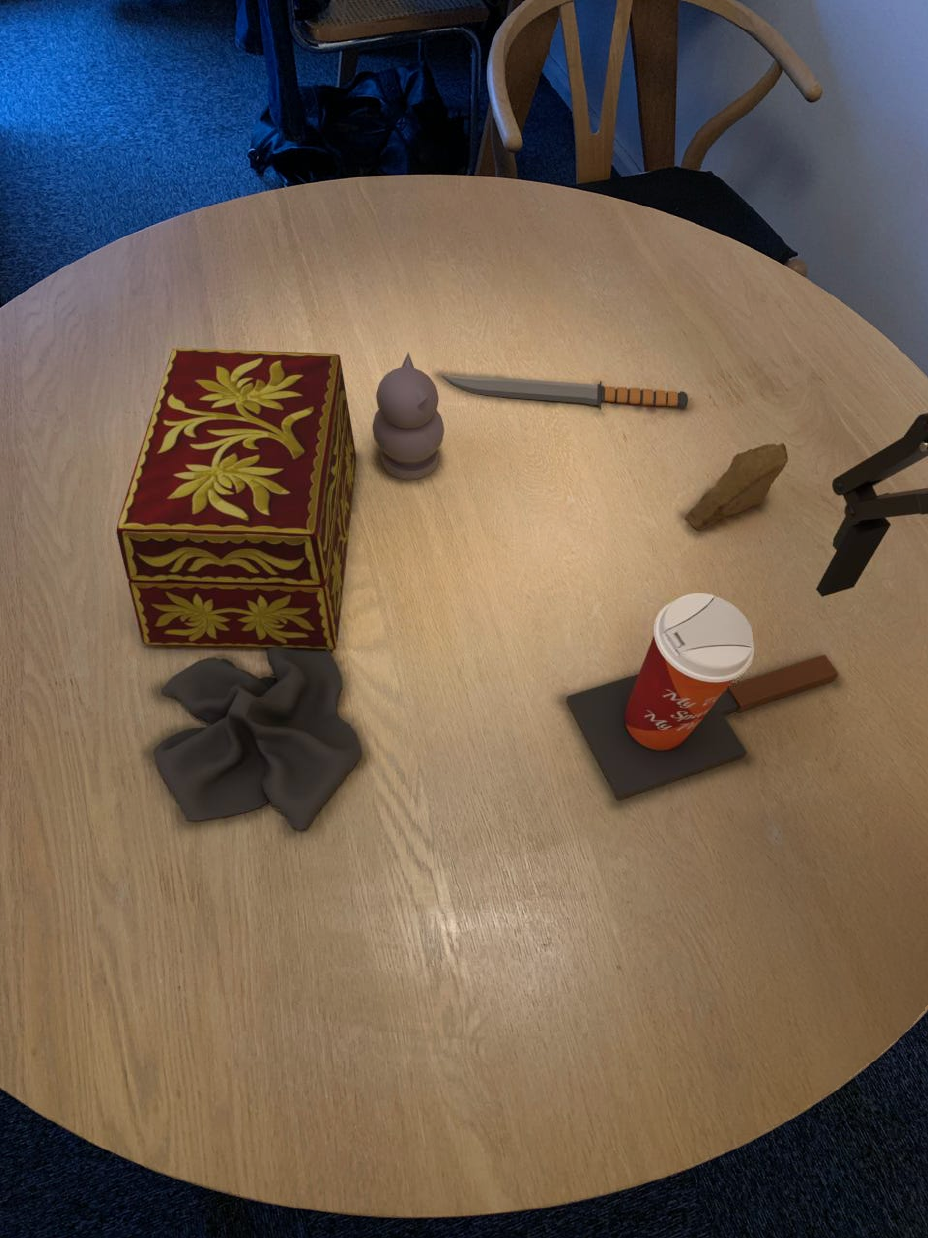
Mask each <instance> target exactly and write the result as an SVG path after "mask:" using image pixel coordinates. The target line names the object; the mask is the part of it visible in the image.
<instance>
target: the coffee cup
mask: <svg viewBox="0 0 928 1238" xmlns="http://www.w3.org/2000/svg"><path fill="white" fill-rule="evenodd" d="M653 624H654V625H653V637H652V639H651V642H650V644H649V646H648V649H647V652H646V654H645V657H644V659H643V661H642V664H641V667H640V670H639V673H638V674H639V675H638V677H637V680H636V683H635V685H634V688H633V690H632V693H631V696H630V698H629V701H628V704H627V707H626V711H625V723H626V727H627V729H628V731H629V733H630V734H631V736H632V737H633V738H634V739H635V740H636V741H637V742H639V743H640V744H641V745H643V746H645V747H647V748H650V749H653V750H659V751H664V750H670V749H673V748H675V747H677V746H678V745H680V744H681V743H682V742H683V741H684V740H685V739H686V738H687V737H688V735H689V734H690V733H691V732H692V731H693V729H694V728H695V727H696V726H697V725H698V723H699V722H700V721H701V720H702V718H703V717H704V716H705V715H706V713H707V712H708V711H709V710H710V709H711V707H712V706H713V705H714V704H715V702H716V701H717V700H718V699H719V697H720V696H721V695H722V693H723V692H724V691H726V689H727V687H728V686H730V685H731V683H733V681H734V680H735V679H738V678H739V677H741V676H742V675H744V673H745V672H746V671H748V669H749V667H750V666H751V664H752V663H753V660H754V656H755V643H754V634H753V629H752V625H751V623H750V622H749V621H748V619H747V618H746V616H745V615H744V614H743V613H742V612H741V610H740V609H739V608H738V607H737V606H736V605H734V604H732V603H731V602H729V601H728V600H726V599H723V598H721V597H719V596H717V595H715V594H710V593H703V592H693V593H688V594H685V595H682V596H679V597H678V598H676V599H674V600H673V601H671V602H669V603H668V604H666V605H665V606H663V607H662V609H661V610H660V611H659V612H658V614H657V616H656V618H655V620H654V623H653Z"/></svg>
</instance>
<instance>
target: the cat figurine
mask: <svg viewBox="0 0 928 1238" xmlns="http://www.w3.org/2000/svg"><path fill="white" fill-rule="evenodd" d="M375 395H376V396H375V397H376V404H377V408H378V410H377V411H376V412H375V415H374V418H373V422H372V433H373V438H374V440H375V442H376V445H378V447H379V448H380V450H381V462H382V463H381V464H382V466H383V468H384V470H385V471H386V472H387V473H388V474H390V475H391V476H393V477H395V478H398V479H400V480H406V481H407V480H408V481H410V480H419V479H422V478H425V477H427V476H428V475H430V474H432V473H433V472H434V470H435V469H436V467H437V464H438V457H439V456H438V454H439V452H438V450H439V448H440V447H441V445H442V443H443V439H444V434H445V425H444V421H443V418H442V415H441V414H440V412H439V411H438V406H439V400H440V399H439V393H438V389H437V386H436V384H435V382H434V381H433V380H432V378H431V377H430V376H429V375H428V374H426V373H425V372H424V371H422V370H421V369H418V368H415V366H414V364H413V360H412V358H411V355H410V353H409V352H407V354H406V356H405V357H404V360H403V363H402V365H401V367H397V368H394V369H392V370H391V371H389V372H387V373H386V374H384V376H383V378H381V380H380V381H379V383H378V387H377V390H376V394H375Z"/></svg>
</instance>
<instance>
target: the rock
mask: <svg viewBox="0 0 928 1238" xmlns="http://www.w3.org/2000/svg"><path fill="white" fill-rule="evenodd" d="M788 461H789V456H788V450H787V447H786V445H785V443H784V442H781V443H780V444H776V443H767V444H762V445H760V446H757V447H754V448H749V449H748V450H746V451H743V452H740V453H739V452H738V453H736V454H735V455H734V456H733V457H732V458H731V463H730V465H729V466H728V469H726V471H725V472H724V473H723V474H722V475H721V477H720V478H719V479H718V481H717V483H716V485H715V486H714V487H712V488H710V489H708V490H707V491H706V492H705V493H704V494H703V495H702V496H701V498H700V499H699V501H698V502H697V504H695V506H693V507H692V508H691V509H690V511H689V512H687V514H686V515H685V518H686V520H687V521H688V522H689V523H690V524H691V525H692V527H693V528H694V529H696V530H697V531H701V530H703V529H705V528H708V527H709V526H711V525H712V524H715V523H717V522H719V521H721V520H723V519H725V518H727V517H729V516H733V515H734V516H735V515H736V514H738V513H741V512H743V511H745V510H747V509H749V508H750V507H752V506H756V505H758V504H761V503H762V502H763V501H764V500H765V498H766V496H767V495H768V493H769V491H770V489H771V486H772V485H773V484H774V483H775V481H776V479H777V478H778V477H779V476H780V475H781V473H782V472H783V470H784V468H785V467H786V465H787V464H788Z"/></svg>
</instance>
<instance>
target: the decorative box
mask: <svg viewBox="0 0 928 1238" xmlns="http://www.w3.org/2000/svg"><path fill="white" fill-rule="evenodd" d="M342 364H343V363H342V360H341V355H340V354H338V353H325V352H323V353H322V352H319V353H318V352H298V351H297V352H292V351H266V350H237V349H236V350H235V349H207V348H173V349H172V350H171V353H170V354H169V359H168V361H167V365H166V367H165V371H164V374H163V377H162V379H161V383H160V387H159V389H158V393H157V396H156V399H155V402H154V405H153V408H152V412H151V415H150V418H149V422H148V424H147V428H146V431H145V435H144V437H143V440H142V443H141V447H140V450H139V453H138V456H137V460H136V463H135V466H134V469H133V473H132V476H131V480H130V482H129V485H128V489H127V492H126V495H125V498H124V502H123V505H122V508H121V511H120V514H119V518H118V521H117V525H116V536H117V541H118V546H119V549H120V553H121V558H122V562H123V567H124V571H125V575H126V578H127V580H128V587H129V593H130V596H131V600H132V604H133V608H134V613H135V617H136V622H137V626H138V629H139V634H140V638H141V641H142V643H143V645H147V646H166V647H167V646H170V647H171V646H172V647H174V646H175V647H211V648H213V647H215V648H216V647H217V648H218V647H219V648H221V647H222V648H252V649H253V648H255V649H257V648H258V649H259V648H260V649H266V648H272V647H282V648H295V649H327V650H335V649H336V647H337V643H338V639H339V630H340V623H341V622H340V621H341V620H340V619H341V614H342V613H341V612H342V611H341V610H342V602H343V593H344V582H345V574H346V563H347V554H348V545H349V534H350V524H351V513H352V506H353V496H354V487H355V474H356V466H357V465H356V463H357V453H356V445H355V440H354V434H353V433H354V432H353V427H352V421H351V415H350V408H349V403H348V397H347V396H348V395H347V390H346V385H345V384H346V383H345V378H344V373H343V365H342Z"/></svg>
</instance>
